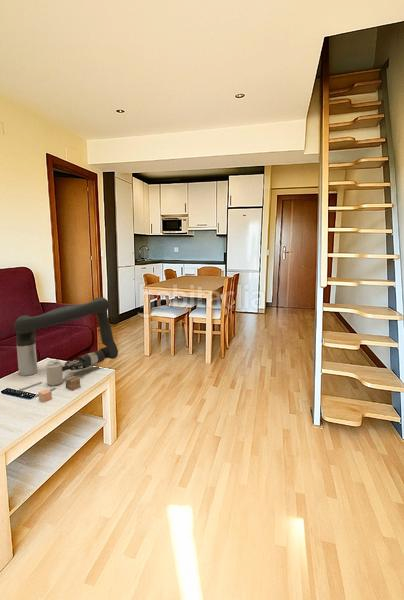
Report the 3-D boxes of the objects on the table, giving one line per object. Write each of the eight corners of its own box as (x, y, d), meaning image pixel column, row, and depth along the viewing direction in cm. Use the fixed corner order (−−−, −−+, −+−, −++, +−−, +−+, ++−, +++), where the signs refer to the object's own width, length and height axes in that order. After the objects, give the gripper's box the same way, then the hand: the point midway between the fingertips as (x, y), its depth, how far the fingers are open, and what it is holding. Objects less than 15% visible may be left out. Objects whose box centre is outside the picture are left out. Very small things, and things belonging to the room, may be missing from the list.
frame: (17, 390, 150) (17, 390, 150) (40, 382, 160) (40, 381, 160) (32, 398, 143) (32, 397, 143) (56, 389, 153) (55, 388, 153)
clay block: (38, 400, 142) (38, 392, 141) (47, 396, 145) (46, 389, 144) (43, 402, 140) (43, 394, 139) (51, 399, 143) (51, 391, 142)
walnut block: (65, 388, 154) (65, 378, 153) (74, 384, 158) (74, 375, 158) (71, 390, 152) (71, 381, 151) (80, 387, 156) (79, 377, 155)
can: (58, 386, 155) (56, 364, 154) (44, 386, 156) (42, 364, 154) (65, 380, 163) (64, 359, 161) (52, 379, 163) (51, 358, 162)
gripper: (80, 352, 179) (52, 360, 165) (94, 356, 172) (67, 365, 158) (81, 364, 180) (53, 373, 166) (95, 368, 173) (68, 379, 159)
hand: (60, 369), depth 162 cm, fingers closed
